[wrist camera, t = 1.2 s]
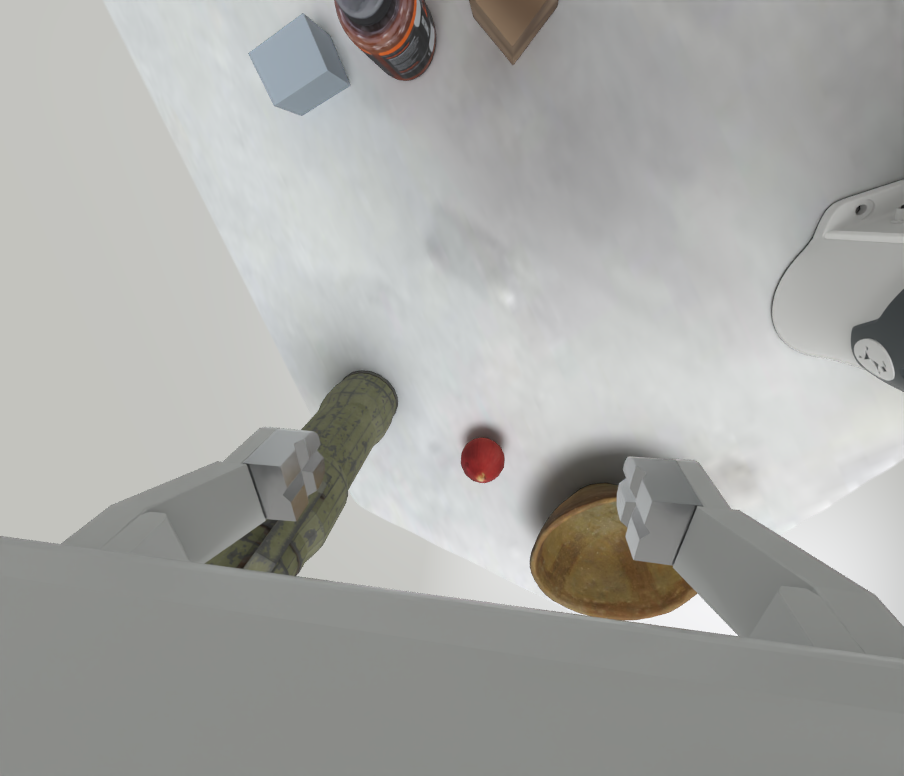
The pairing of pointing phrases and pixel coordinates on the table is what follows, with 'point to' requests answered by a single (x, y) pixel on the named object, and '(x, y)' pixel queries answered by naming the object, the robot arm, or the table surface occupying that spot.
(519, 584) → the table surface
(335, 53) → the slate block
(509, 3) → the walnut cube
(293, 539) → the thermos
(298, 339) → the table surface
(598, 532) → the bowl
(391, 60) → the supplement bottle
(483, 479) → the onion
